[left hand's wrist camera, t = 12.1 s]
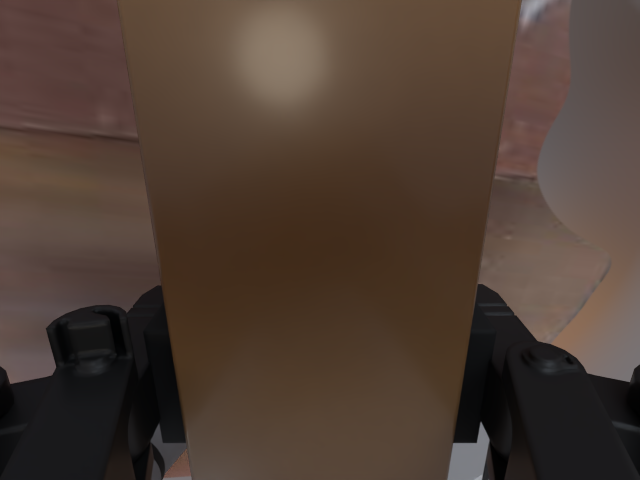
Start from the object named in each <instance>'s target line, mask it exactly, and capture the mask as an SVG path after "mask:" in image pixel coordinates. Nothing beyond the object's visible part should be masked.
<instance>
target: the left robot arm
mask: <svg viewBox="0 0 640 480" xmlns="http://www.w3.org/2000/svg"><path fill="white" fill-rule="evenodd" d="M46 331H47V334H48V338H49V342H50V345H51V349H52V353H53V356H54V360H55V363H56V369H55V371H54V373H53V375H52V376H48V377H44V378H39V379H34V380H29V381H24V382H19V383H14V384H10V382H9V379H8V376H7V373H6V370H4V369H3V368H2V367H0V480H162V479H163V477H164V475H165V473H166V472H167V471H168V469H169V468H170V467H171V466H172V465H173V463H174V462H175V461H176V460H177V459H178V458H179V456H180V455H181V454H182V453H183V452H184V451H185V449H186V448H187V445H186V439H185V432H184V426H183V420H182V413H181V407H180V400H179V394H178V388H177V381H176V375H175V369H174V362H173V356H172V349H171V343H170V337H169V330H168V324H167V317H166V311H165V305H164V298H163V292H162V286H156V287H154V288H153V289H151V290H150V291H148V292H146V293H145V294H143V295H142V296H141V297H140V298H139V299H138V301H137V302H136V303H135V304H134V305H133V308H131V309H130V310H129V312H128V313H127V314H126V311H124V310H123V309H122V308H120V307H117V306H112V305H95V306H90V307H85V308H80V309H78V310H75V311H72V312H69V313H66V314H65V315H63V316H61V317H59V318H58V319H56V320H54V321H53V322H52V323H51V324H50V325H49V326H48V327H47V328H46ZM481 422H482V425H483V427H484V429H485V431H486V433H487V435H488V437H489V445H488V450H487V455H486V460H485V466H484V471H483V476H482V480H640V365H639V366H637V367H636V368H635V369H634V372H633V375H632V378H631V381H630V382H626V381H621V380H616V379H611V378H605V377H601V376H596V375H592V374H588V373H587V372H586V371H585V369H584V367H583V365H582V364H581V363H580V362H579V361H578V359H577V358H576V357H574V356H573V355H571V354H570V353H568V352H567V351H565V350H563V349H561V348H558V347H556V346H554V345H551V344H547V343H543V342H539V341H537V340H536V339H535V338H534V336H533V335H532V334H531V333H530V332H529V330H528V329H527V328H526V327H525V326H524V324H523V323H522V322H521V321H520V320H519V318H518V317H517V316H514V312H513V311H512V310H511V309H510V308H509V306H507V304H506V303H505V302H504V300H503V299H502V298H501V297H500V296H499V294H498V293H496V292H495V291H493V290H491V289H490V288H488V287H486V286H485V285H483V284H478V286H477V293H476V299H475V306H474V312H473V318H472V325H471V331H470V338H469V344H468V351H467V357H466V364H465V370H464V377H463V383H462V390H461V396H460V402H459V409H458V415H457V422H456V428H455V435H454V441H453V443H477V440H478V434H479V429H480V423H481Z"/></svg>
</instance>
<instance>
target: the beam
mask: <svg viewBox="0 0 640 480" xmlns="http://www.w3.org/2000/svg"><path fill="white" fill-rule="evenodd" d="M521 2H522V0H117V5H118V11H119V17H120V24H121V30H122V37H123V43H124V49H125V56H126V62H127V69H128V75H129V81H130V88H131V94H132V100H133V107H134V113H135V120H136V126H137V132H138V139H139V145H140V152H141V158H142V164H143V171H144V177H145V183H146V190H147V196H148V203H149V209H150V215H151V222H152V228H153V234H154V241H155V247H156V254H157V260H158V266H159V273H160V279H161V286H162V292H163V298H164V305H165V311H166V317H167V324H168V330H169V337H170V343H171V349H172V356H173V362H174V369H175V375H176V381H177V388H178V394H179V400H180V407H181V413H182V420H183V426H184V432H185V439H186V445H187V451H188V458H189V464H190V471H191V477H192V480H448V473H449V467H450V461H451V454H452V448H453V441H454V435H455V428H456V422H457V415H458V409H459V402H460V396H461V390H462V383H463V377H464V370H465V364H466V357H467V351H468V344H469V338H470V331H471V325H472V318H473V312H474V306H475V299H476V293H477V286H478V280H479V273H480V267H481V260H482V254H483V247H484V241H485V235H486V228H487V222H488V215H489V209H490V202H491V196H492V189H493V183H494V176H495V170H496V163H497V157H498V151H499V144H500V138H501V131H502V125H503V118H504V112H505V105H506V99H507V92H508V86H509V79H510V73H511V67H512V60H513V54H514V47H515V41H516V34H517V28H518V21H519V15H520V8H521Z"/></svg>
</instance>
